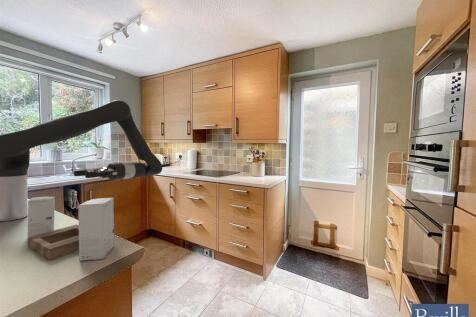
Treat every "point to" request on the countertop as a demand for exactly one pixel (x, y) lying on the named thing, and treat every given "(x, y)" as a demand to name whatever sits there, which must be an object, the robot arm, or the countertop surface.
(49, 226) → the skincare box
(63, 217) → the countertop surface
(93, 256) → the skincare box
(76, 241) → the socket block
